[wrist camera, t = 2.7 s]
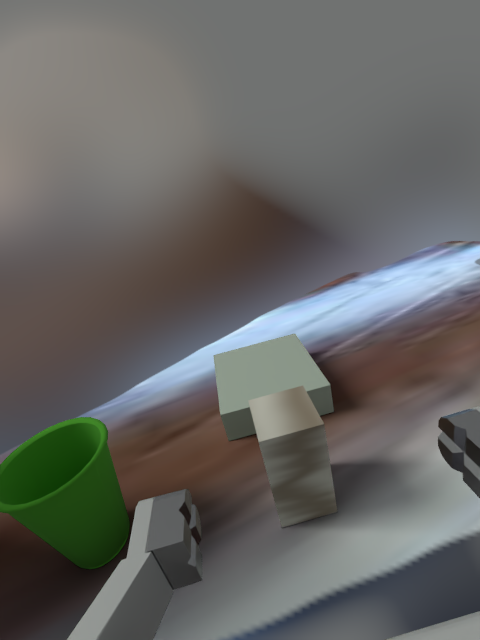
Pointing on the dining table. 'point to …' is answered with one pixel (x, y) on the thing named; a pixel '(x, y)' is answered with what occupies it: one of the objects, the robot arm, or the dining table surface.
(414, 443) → the dining table surface
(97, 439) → the cup
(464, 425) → the robot arm
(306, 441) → the cream block
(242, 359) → the base plinth
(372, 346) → the dining table surface
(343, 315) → the dining table surface
